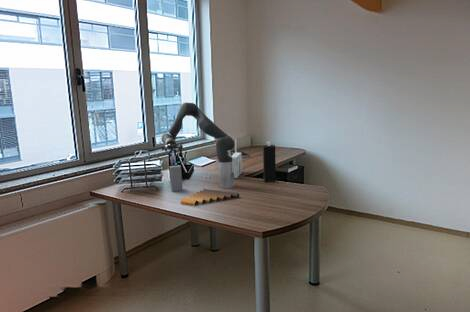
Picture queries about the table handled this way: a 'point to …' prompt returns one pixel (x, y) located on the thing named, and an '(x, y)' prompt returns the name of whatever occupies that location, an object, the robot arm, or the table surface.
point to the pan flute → (208, 197)
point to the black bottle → (269, 162)
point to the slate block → (176, 178)
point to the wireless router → (236, 150)
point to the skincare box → (237, 164)
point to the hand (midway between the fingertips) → (172, 149)
